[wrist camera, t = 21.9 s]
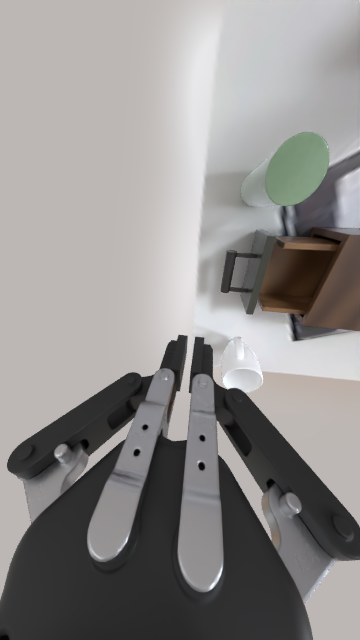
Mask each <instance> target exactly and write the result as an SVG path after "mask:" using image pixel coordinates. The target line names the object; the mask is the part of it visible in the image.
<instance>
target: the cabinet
mask: <svg viewBox="0 0 360 640" xmlns="http://www.w3.org/2000/svg"><path fill="white" fill-rule="evenodd" d="M310 237H317V238H332V239H336V240H339V241H341V243H340V245H339V247H338V249H337V251H336V253H335V255H334V257H333V259H332V261H331V263H330V265H329V267H328V269H327V271H326V273H325V275H324V277H323V279H322V281H321V283H320V285H319V287H318V289H317V291H316V293H315V295H314V297H313V299H312V301H311V303H310V305H309V307H308V309H307V311H306V313H305V315H303V314H295V316H296V317H297V318H298V320H299V321H300V322H301V324H302V325H304V326H314V327H324V328H334V329H344V330H355V331H360V228H329V227H313V229H312V232H311V234H310Z"/></svg>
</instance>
